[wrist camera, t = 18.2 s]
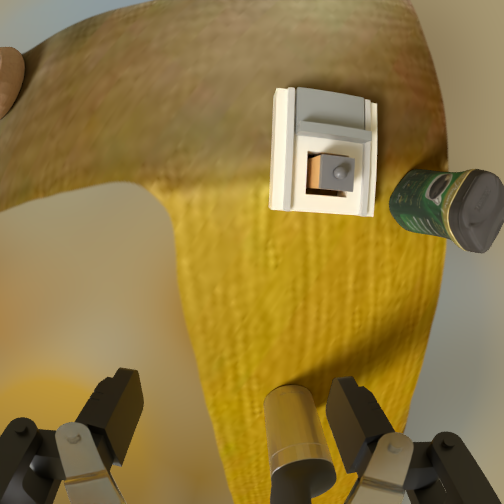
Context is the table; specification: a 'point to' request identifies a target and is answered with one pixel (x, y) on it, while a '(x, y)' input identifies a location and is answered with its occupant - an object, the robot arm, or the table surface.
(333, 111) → the shutter
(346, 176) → the plug
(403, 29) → the table surface
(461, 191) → the coffee jar
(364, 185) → the socket
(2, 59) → the potted plant
